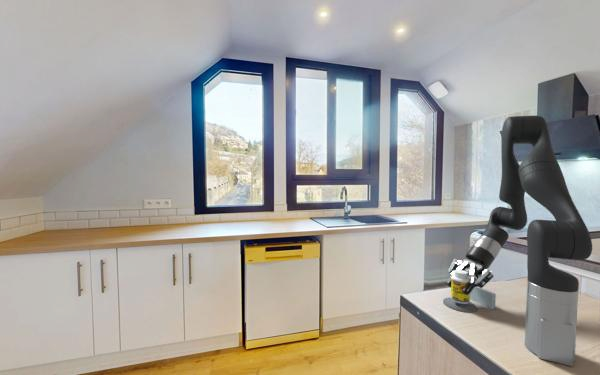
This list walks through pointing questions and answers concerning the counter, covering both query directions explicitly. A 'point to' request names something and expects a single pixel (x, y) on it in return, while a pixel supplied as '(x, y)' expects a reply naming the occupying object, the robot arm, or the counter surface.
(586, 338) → the counter surface
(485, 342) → the counter surface
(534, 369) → the counter surface
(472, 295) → the low wall
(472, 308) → the resting mat
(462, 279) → the supplement bottle
